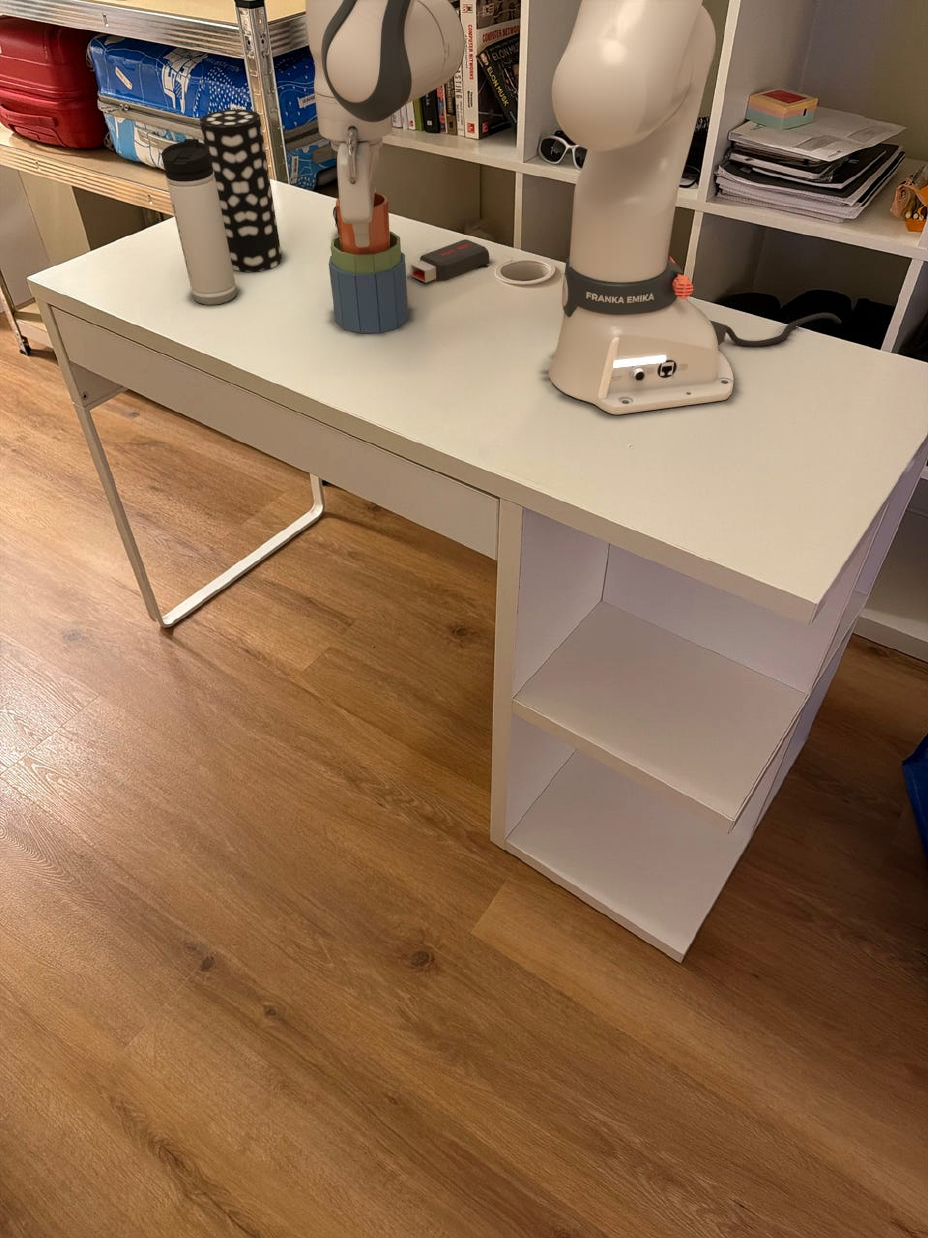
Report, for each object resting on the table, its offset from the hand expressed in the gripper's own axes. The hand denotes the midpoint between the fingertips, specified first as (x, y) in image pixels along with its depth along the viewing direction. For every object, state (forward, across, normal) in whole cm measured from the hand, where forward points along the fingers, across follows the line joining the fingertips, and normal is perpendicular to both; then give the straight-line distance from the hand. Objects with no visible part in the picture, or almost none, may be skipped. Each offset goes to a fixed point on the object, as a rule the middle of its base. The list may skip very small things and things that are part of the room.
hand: (364, 232), depth 118 cm
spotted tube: (+12, +20, +19) cm, 30 cm away
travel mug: (+12, +8, +23) cm, 27 cm away
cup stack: (+11, 0, 0) cm, 11 cm away
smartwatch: (+12, +29, +6) cm, 32 cm away
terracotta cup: (+5, 0, 0) cm, 5 cm away
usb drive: (+12, +15, -11) cm, 22 cm away
